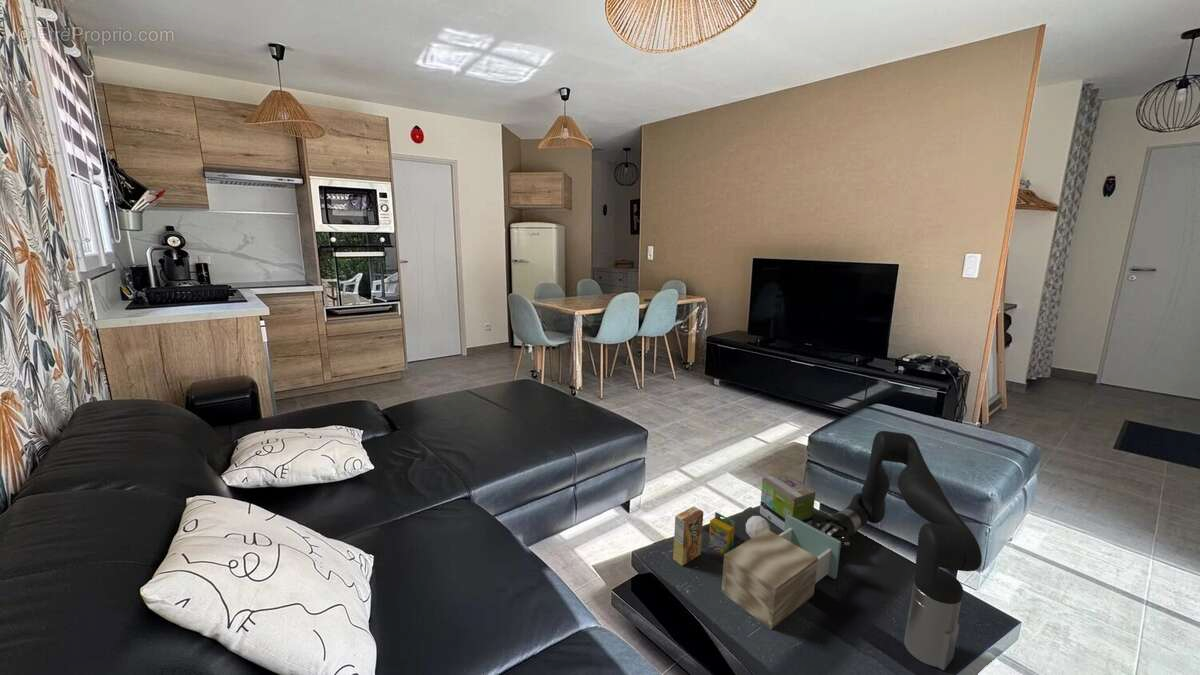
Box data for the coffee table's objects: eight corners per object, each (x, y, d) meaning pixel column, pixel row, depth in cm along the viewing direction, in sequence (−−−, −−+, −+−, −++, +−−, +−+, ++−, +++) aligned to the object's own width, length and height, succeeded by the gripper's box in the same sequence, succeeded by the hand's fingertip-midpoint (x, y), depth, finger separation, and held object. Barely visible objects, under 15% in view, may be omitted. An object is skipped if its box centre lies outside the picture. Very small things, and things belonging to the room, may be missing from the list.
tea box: (758, 513, 170) (761, 476, 167) (779, 507, 175) (782, 471, 172) (790, 537, 157) (794, 497, 154) (812, 530, 161) (816, 490, 158)
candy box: (691, 548, 151) (693, 505, 148) (701, 554, 148) (704, 511, 145) (672, 559, 146) (674, 515, 143) (682, 566, 143) (685, 521, 139)
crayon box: (707, 547, 152) (709, 515, 149) (713, 543, 154) (715, 511, 151) (727, 558, 147) (729, 525, 144) (732, 554, 149) (735, 521, 146)
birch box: (813, 595, 132) (818, 557, 129) (771, 629, 120) (775, 588, 118) (764, 563, 144) (767, 528, 142) (721, 592, 133) (724, 554, 130)
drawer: (836, 577, 138) (841, 541, 135) (798, 608, 126) (802, 569, 124) (784, 547, 151) (787, 514, 149) (745, 572, 140) (748, 537, 137)
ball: (761, 543, 158) (777, 527, 157) (756, 548, 151) (772, 531, 150) (743, 525, 162) (759, 509, 160) (738, 529, 155) (754, 512, 154)
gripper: (825, 504, 159) (796, 522, 149) (865, 523, 149) (837, 543, 139) (822, 524, 161) (794, 543, 151) (862, 544, 150) (834, 566, 140)
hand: (815, 543), depth 145 cm, fingers closed
